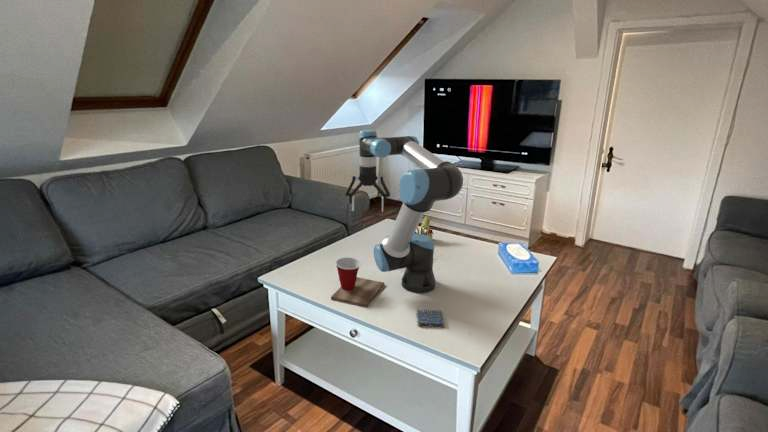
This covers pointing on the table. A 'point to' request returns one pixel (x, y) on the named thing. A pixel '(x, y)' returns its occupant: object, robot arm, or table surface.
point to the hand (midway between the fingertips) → (367, 210)
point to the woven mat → (430, 318)
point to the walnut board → (359, 292)
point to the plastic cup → (347, 272)
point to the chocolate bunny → (427, 226)
